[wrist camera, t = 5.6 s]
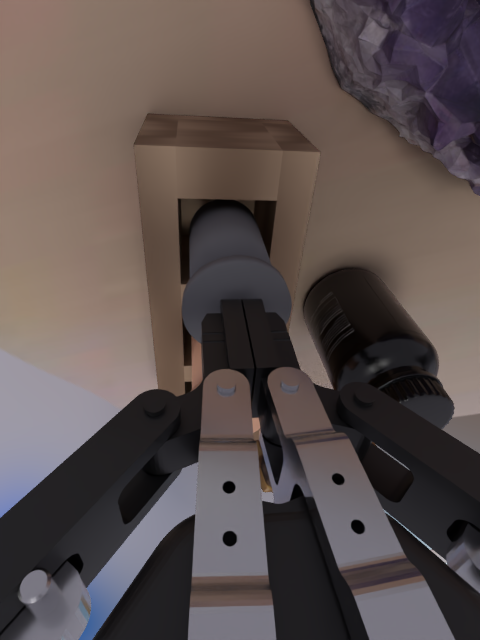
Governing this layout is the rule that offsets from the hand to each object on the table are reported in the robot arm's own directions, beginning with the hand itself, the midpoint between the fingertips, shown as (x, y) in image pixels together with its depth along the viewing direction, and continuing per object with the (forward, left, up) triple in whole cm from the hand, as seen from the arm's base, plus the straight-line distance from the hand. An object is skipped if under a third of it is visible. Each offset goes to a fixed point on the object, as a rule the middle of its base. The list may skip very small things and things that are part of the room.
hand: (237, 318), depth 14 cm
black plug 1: (0, 0, -8) cm, 8 cm away
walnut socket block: (0, +6, -13) cm, 14 cm away
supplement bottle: (-11, +9, -13) cm, 19 cm away
